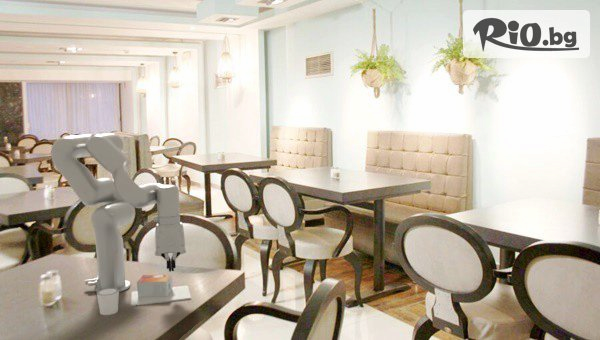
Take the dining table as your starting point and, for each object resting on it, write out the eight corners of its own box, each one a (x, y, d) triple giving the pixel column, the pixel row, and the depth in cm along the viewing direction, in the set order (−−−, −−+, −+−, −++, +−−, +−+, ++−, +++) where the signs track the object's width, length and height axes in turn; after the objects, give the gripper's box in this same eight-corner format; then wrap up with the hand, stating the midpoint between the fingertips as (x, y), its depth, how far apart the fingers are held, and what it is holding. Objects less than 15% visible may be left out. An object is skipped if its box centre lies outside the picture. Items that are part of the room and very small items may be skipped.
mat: (131, 306, 178) (131, 304, 178) (131, 292, 190) (131, 291, 190) (191, 299, 184) (191, 297, 183) (187, 286, 196) (187, 285, 196)
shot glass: (107, 317, 169) (105, 296, 168) (93, 313, 172) (92, 292, 171) (124, 310, 175) (123, 290, 174) (110, 306, 178) (109, 286, 177)
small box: (166, 281, 184) (136, 282, 184) (167, 297, 185) (137, 297, 184) (171, 274, 192) (142, 274, 191) (172, 288, 192) (143, 289, 192)
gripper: (147, 224, 179) (149, 275, 181) (191, 220, 183) (193, 271, 185) (146, 219, 186) (149, 269, 188) (189, 216, 190) (191, 265, 192)
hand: (171, 270), depth 187 cm, fingers closed
